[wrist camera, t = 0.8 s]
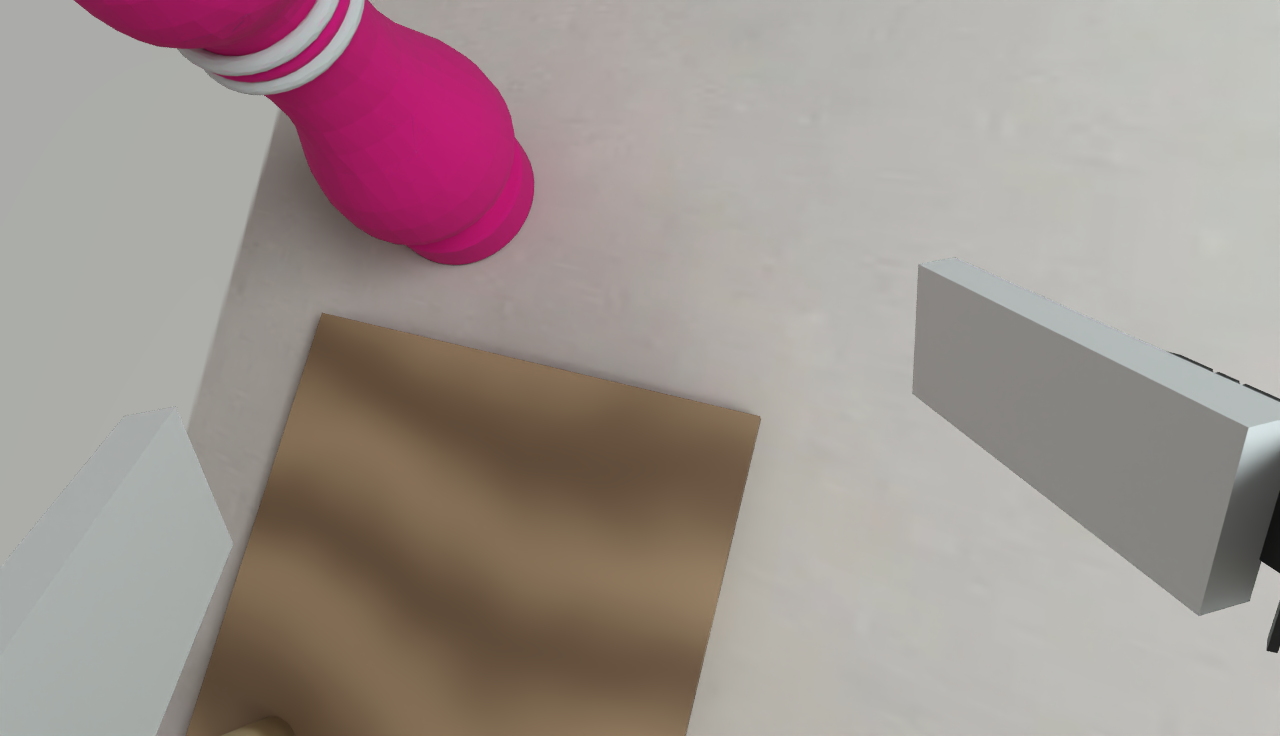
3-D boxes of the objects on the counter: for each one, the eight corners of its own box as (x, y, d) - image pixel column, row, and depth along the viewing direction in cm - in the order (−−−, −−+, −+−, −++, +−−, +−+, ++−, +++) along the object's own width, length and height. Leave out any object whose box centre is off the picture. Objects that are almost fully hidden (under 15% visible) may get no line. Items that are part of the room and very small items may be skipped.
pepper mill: (431, 311, 31) (-132, -12, 12) (356, 176, 33) (-241, -294, 14) (578, 213, 31) (244, -284, 12) (494, 82, 33) (82, -538, 13)
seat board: (335, 318, 32) (274, 292, 28) (760, 419, 28) (758, 404, 24) (194, 761, 30) (106, 799, 26) (637, 937, 26) (612, 1013, 22)
